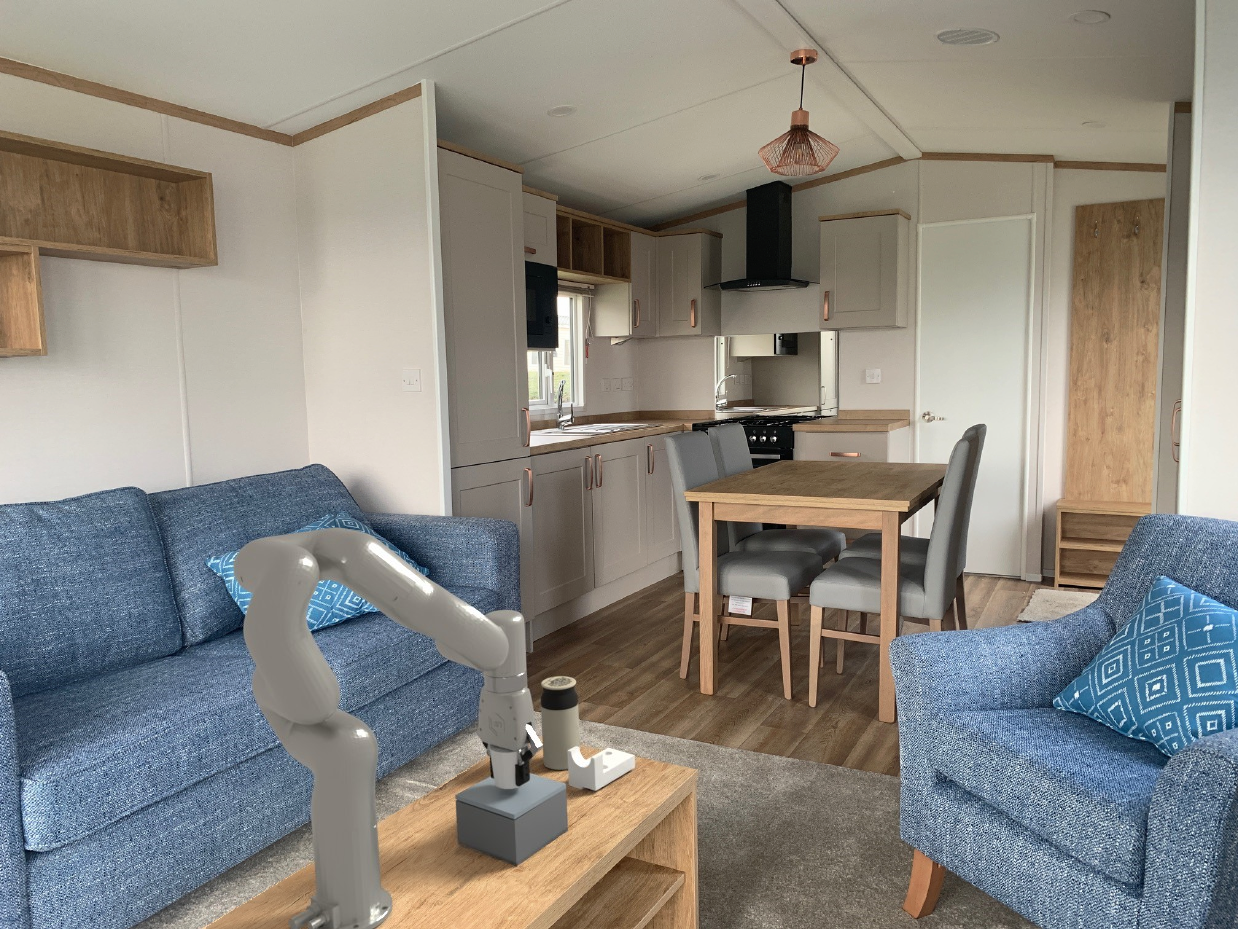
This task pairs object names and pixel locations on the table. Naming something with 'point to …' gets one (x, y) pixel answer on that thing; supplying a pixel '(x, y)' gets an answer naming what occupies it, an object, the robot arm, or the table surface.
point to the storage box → (512, 829)
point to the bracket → (597, 767)
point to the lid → (511, 795)
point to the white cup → (504, 766)
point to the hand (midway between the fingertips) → (510, 778)
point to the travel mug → (559, 721)
